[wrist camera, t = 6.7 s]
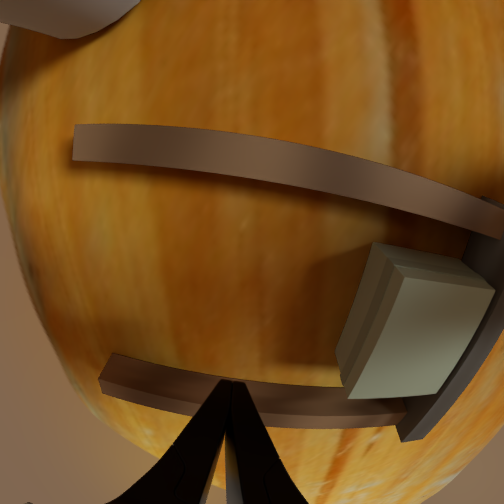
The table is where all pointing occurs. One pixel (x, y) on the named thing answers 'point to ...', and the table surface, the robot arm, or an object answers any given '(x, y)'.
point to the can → (63, 15)
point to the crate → (409, 323)
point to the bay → (327, 180)
